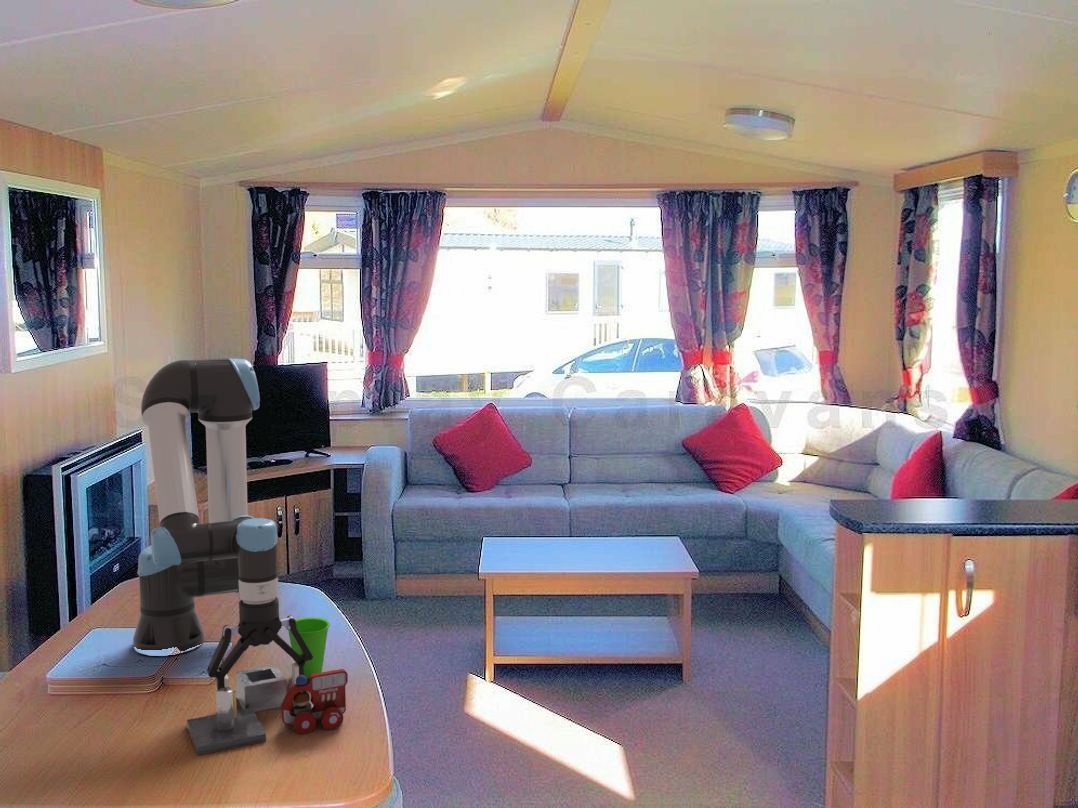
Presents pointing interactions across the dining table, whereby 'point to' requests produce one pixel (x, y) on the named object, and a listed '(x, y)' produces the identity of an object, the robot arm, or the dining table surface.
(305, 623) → the cup
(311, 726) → the toy fire truck
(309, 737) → the dining table surface
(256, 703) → the grey block with hole
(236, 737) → the shaft stand
